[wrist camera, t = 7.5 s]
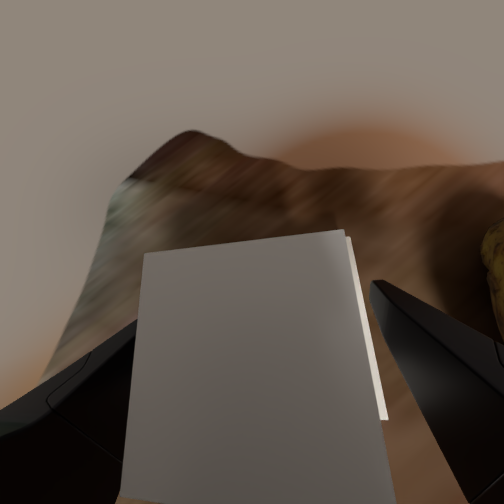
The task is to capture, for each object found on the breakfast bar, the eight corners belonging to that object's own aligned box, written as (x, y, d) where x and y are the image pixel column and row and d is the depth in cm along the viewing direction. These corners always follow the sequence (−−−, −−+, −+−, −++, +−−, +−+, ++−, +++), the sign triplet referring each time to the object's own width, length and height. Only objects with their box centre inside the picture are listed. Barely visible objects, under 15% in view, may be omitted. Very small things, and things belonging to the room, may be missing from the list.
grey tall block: (318, 351, 14) (403, 540, 3) (255, 352, 15) (119, 496, 4) (309, 287, 16) (343, 229, 4) (252, 291, 17) (144, 253, 5)
